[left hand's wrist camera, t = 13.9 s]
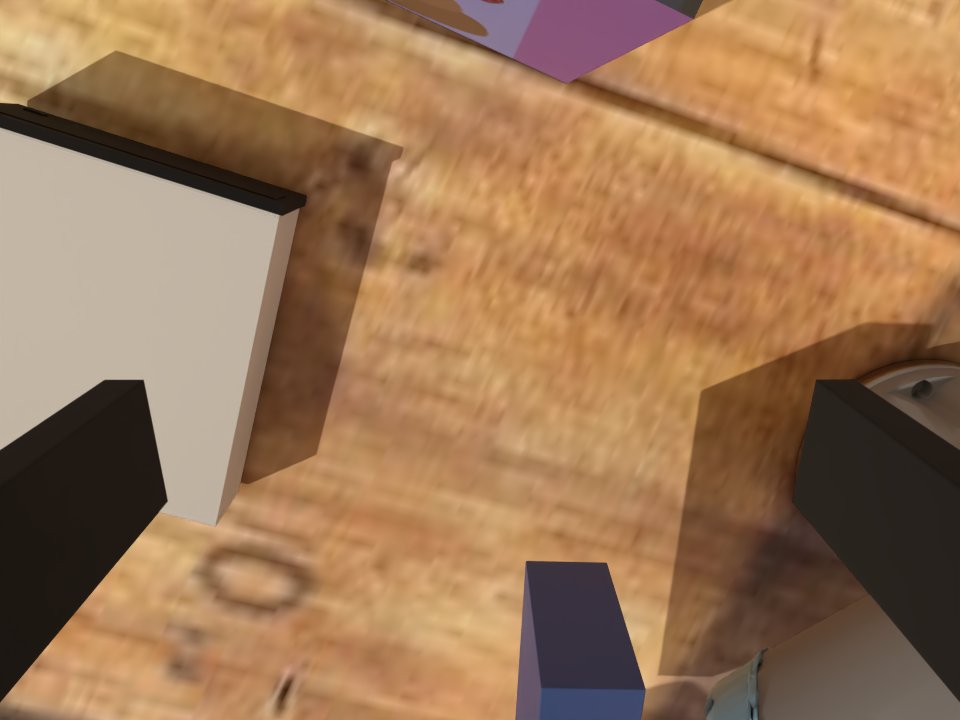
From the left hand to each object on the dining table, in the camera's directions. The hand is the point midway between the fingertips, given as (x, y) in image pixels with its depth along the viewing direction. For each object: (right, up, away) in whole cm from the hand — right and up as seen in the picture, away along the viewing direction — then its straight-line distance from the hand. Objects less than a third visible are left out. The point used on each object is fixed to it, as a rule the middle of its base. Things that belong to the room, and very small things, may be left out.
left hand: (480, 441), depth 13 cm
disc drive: (-23, +5, +30) cm, 38 cm away
